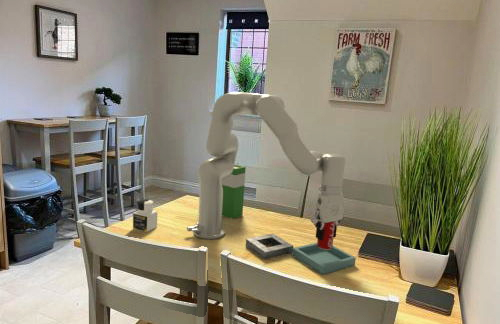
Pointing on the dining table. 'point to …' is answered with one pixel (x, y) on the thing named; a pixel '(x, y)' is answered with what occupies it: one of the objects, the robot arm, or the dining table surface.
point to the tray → (323, 258)
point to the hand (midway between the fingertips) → (325, 237)
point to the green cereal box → (233, 193)
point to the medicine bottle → (145, 216)
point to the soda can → (327, 236)
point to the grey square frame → (277, 250)
